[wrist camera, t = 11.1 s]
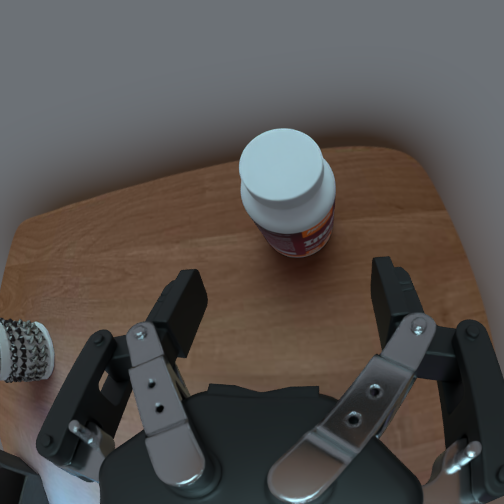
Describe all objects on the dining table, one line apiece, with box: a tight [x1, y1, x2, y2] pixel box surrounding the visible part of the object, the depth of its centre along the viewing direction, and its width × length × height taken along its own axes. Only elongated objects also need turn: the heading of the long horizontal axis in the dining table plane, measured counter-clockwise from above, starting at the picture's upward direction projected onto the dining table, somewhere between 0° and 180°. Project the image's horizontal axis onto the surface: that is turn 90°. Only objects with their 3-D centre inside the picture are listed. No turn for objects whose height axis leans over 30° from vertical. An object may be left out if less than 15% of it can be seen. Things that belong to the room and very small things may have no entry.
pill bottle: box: [239, 129, 336, 257], centre depth 20 cm, size 6×6×11 cm
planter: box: [0, 450, 49, 504], centre depth 18 cm, size 17×8×21 cm
